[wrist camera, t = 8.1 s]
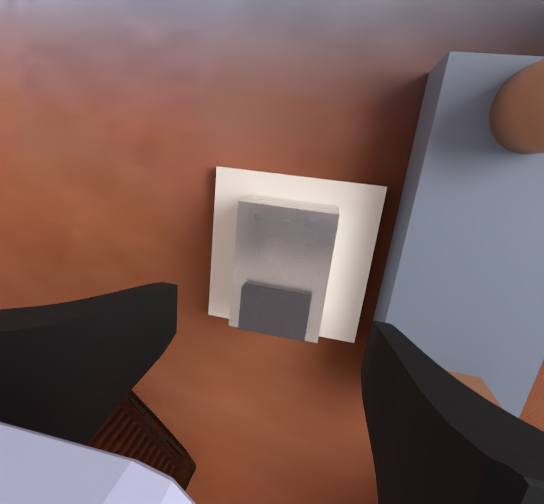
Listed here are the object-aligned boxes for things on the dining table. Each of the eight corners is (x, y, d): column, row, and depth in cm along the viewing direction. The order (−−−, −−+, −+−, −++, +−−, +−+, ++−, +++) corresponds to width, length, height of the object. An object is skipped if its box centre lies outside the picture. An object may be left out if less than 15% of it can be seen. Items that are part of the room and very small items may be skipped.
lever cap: (319, 313, 20) (317, 349, 16) (245, 299, 21) (225, 330, 17) (338, 205, 18) (339, 216, 14) (254, 194, 19) (234, 202, 15)
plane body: (488, 390, 20) (566, 501, 13) (362, 364, 21) (377, 455, 15) (603, 83, 15) (821, 15, 8) (429, 71, 16) (497, 4, 9)
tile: (353, 336, 21) (354, 343, 20) (212, 309, 22) (208, 314, 21) (385, 186, 18) (387, 186, 17) (221, 166, 19) (216, 166, 19)
